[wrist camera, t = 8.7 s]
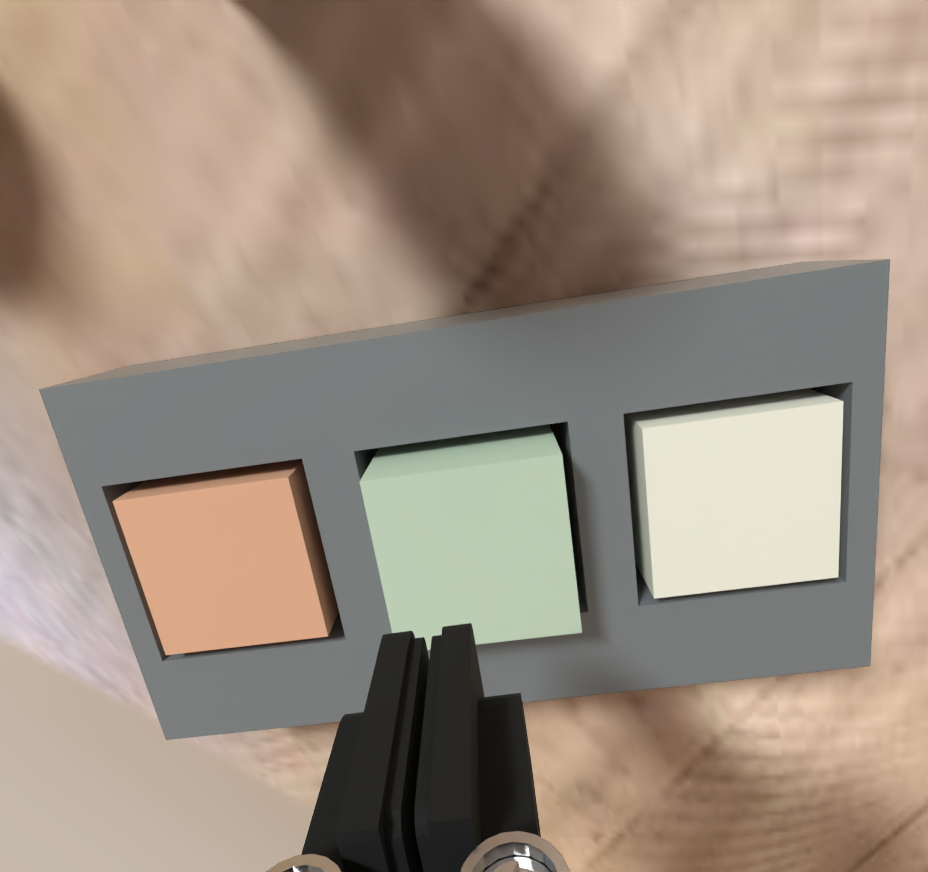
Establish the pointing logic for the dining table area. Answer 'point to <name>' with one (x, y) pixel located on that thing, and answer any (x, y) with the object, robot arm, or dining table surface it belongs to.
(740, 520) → the cream button
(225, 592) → the terracotta button
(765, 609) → the button panel
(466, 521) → the sage button
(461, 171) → the dining table surface
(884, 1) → the dining table surface
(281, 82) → the dining table surface
